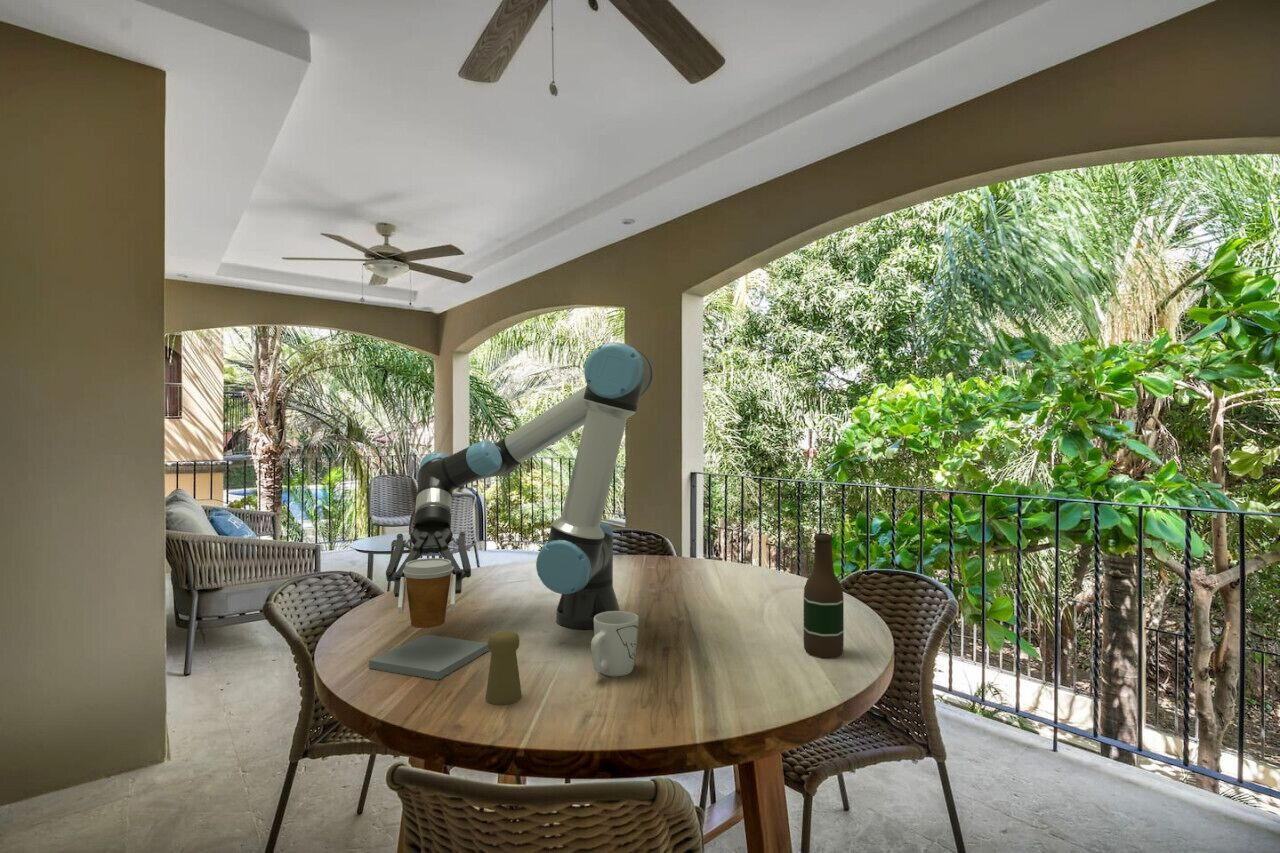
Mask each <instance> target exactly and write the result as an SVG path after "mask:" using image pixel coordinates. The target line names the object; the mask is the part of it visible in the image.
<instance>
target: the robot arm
mask: <svg viewBox="0 0 1280 853" xmlns="http://www.w3.org/2000/svg"><path fill="white" fill-rule="evenodd" d="M583 372H584V373H583V374H584V379H585V382H586V386H584V387H582V388H581V389H579V390H577V391H576V392H574V393H573V394H571V395H569V396H568V397H566V398H565V399H563V400H562V401H560V402H558V403H557V404H555V405H554V406H552V407H550V408H548V409H547V410H546V411H544V412H542V413H541V414H540V415H538V416H536V417H535V418H533V419H531V420H530V421H528V422H526V423H524V424H523V425H522V426H520V427H519V428H517V429H516V430H514V431H513V432H511V433H509V434H508V435H506V436H505V437H504V438H501V439H499V441H497V442H495V443H493V442H492V441H491V440H488V439H484V440H482V441H479V442H476V443H475V442H474V443H473V444H470V445H469V446H468V447H466V448H463V449H462V450H459V451H458V452H455V453H453V454H451V455H449V454H446V453H444V452H437V453H433V452H432V453H428V454H427V455H425V456H424V457H423V458H422V459H421V461H420V463H419V469H418V472H417V489H416V490H417V491H416V492H417V493H416V499H415V509H414V510H415V512H414V513H415V514H414V520H413V521H414V522H413V530H412V532H411V533H410V534H408V535H406V534H405V535H403V533H398V534H396V545H395V547H394V549H393V553H392V554H391V558H390V559H389V563H388V565H387V568H386V571H385V577H386V581H387V582H394V584H393V595H394V597H395V598H398V602H397V610H398V615H404V609H405V599H406V590H407V586H406V578H405V576H404V573H403V569H404V568H405V564H406V563H407V562H410V561H413V560H418V559H421V557H422V555H425V554H440V555H441V557H442V559H448V560H450V561H451V563H452V566H453V567H454V569H453V570H452V573H451V579H450V583H451V584H450V585H451V586H450V587H451V588H450V612H456V594H457V595H459V594H461V593H462V585H463V583H462V582H463V579H465V578H467V579H468V578H471V577H472V568H471V563H470V560H469V559H470V558H469V555H468V552H467V548H466V532H465V531H460V532H459V533H453V531H452V530H451V529H452V528H451V527H452V509H453V506H452V505H453V491H455V490H457V489H459V488H461V487H464V486H466V485H468V484H471V483H474V482H476V481H477V480H481V479H487V478H488V479H489V478H494V477H503V476H506V475H509V474H511V473H513V472H514V471H515V470H516V469H517V468H518V466H519V465H521V464H522V463H524V462H526V461H528V460H529V459H530V458H532V457H534V456H535V455H537V454H538V453H540V452H542V451H543V450H546V449H547V448H549V447H550V446H552V445H553V444H555V443H557V442H558V441H560V440H561V439H563V438H565V437H566V436H568V435H569V434H572V433H573V432H574V431H576V430H577V429H579V428H581V427H583V428H582V431H581V432H582V433H581V436H580V440H579V444H578V448H577V452H576V455H575V460H574V464H573V469H572V472H571V477H570V480H569V484H568V489H567V491H566V496H565V500H564V503H563V508H562V512H561V516H560V517H559V518H557V519H555V520H553V521H552V523H551V527H550V531H549V534H548V538H547V543H546V544H544V545H543V546H542V548H541V550H540V551H539V552H538V554H537V557H536V560H535V561H536V563H535V568H536V573H537V575H538V578H539V579H540V581H541V583H542V584H543V585H544V586H545V588H547V589H548V590H550V591H552V592H553V593H557V594H560V598H559V601H558V605H557V607H556V612H555V615H556V618H555V619H556V623H557V624H558V625H560V626H562V627H566V628H570V629H576V630H577V629H579V630H594V617H595V616H596V615H597V614H599V613H603V612H608V611H621V608H620V605H619V602H618V598H617V595H616V593H615V589H614V584H613V583H614V578H613V577H614V572H613V570H614V564H613V563H614V561H613V559H614V547H613V546H614V534H613V533H614V532H613V527H612V525H611V524H610V523H606V522H605V523H602V518H603V514H604V510H605V506H606V502H607V499H608V495H609V492H610V487H611V482H612V478H613V475H614V471H615V467H616V464H617V460H618V456H619V452H620V447H621V444H622V441H623V440H622V439H623V437H624V432H625V427H626V423H627V421H628V419H629V418H631V417H632V416H634V415H635V414H636V413H637V411H638V405H639V403H640V402H639V401H640V398H641V397H642V396H644V395H645V394H646V393H647V392H648V390H649V389H650V387H651V385H652V383H653V379H654V369H653V366H652V363H651V361H650V359H648V358H647V356H646V355H645V354H644V353H643V352H641V351H639V350H637V349H635V348H634V347H633V346H631V345H629V344H626V343H620V342H617V341H616V342H614V341H611V342H605V343H603V344H601V345H600V346H598V347H596V348H594V350H592V352H591V353H589V356H588V357H587V359H586V361H585V364H584V370H583ZM452 541H454V545H456V546H458V548H457V549H458V552H459V556H460V557H459V558H460V560H461V565H462V568H460V566H459V564H458V563H457V561H456V559H455V557H454V555H453V553H452V552H451V551H450V549H449V546H448V545H449V544H450V543H451V542H452ZM410 542H411V543H412V544H413V546H412V548H411V551H410V552H409V554H408V555H407V556H406V558H405V559H404V561H403V562H402V563H401V565H400V567H399V564H400V562H401V559H402V557H403V555H404V551H405V548H406V547H407V546H408V544H409V543H410ZM398 567H399V568H398Z"/></svg>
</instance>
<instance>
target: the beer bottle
mask: <svg viewBox="0 0 1280 853" xmlns="http://www.w3.org/2000/svg"><path fill="white" fill-rule="evenodd" d="M813 540H814V555H813V567H812V573H811V574H810V576H809V577H808V579H807V580H806V582H805V586H804V588H803V589H804V590H803V648H804V650H806V651H805V652H806V653H807V654H808V656H811V657H815V658H818V659H837V658H838V657H840V656H842V655H843V654H844V642H845V640H844V638H845V637H844V636H845V635H844V626H845V624H844V623H845V622H844V621H845V620H844V618H845V617H844V616H845V615H844V611H845V610H844V609H845V608H844V593H843V592H844V590H843V588H842V584H841V582H840V581H839V579H838V578H837V576H836V575H835V569H834V560H833V559H834V558H833V546H832V545H833V544H832V541H834V537H833V535H832V534H829V533H827V532H826V533H825V532H818V533H815V534H814V536H813Z"/></svg>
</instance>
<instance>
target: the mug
mask: <svg viewBox="0 0 1280 853" xmlns="http://www.w3.org/2000/svg"><path fill="white" fill-rule="evenodd" d="M639 619H640V618H639V615H637V614H636V613H634V612H631V611H626V610H625V611H624V610H620V611H608V612H603V613H599V614H597V615H596V616H595V617H594V629H593V631H594V634H593V635H594V636H593V637H592V639H591V641H590V650H591V651H590V652H591V659H592V666H593V669H594V670H595V671H596V672H599V673H601V674H602V675H604V676H608V677H612V678H613V677H615V678H616V677H617V678H618V677H625V676H627V675H630V674H631V673H632V671H633V669H634V666H635V659H636V654H637V648H638V636H639V622H640V620H639Z"/></svg>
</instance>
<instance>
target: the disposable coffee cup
mask: <svg viewBox="0 0 1280 853" xmlns="http://www.w3.org/2000/svg"><path fill="white" fill-rule="evenodd" d="M453 569H454V567H453V566H452V563H451V561H450V560H448V559H444V558H443V557H442V558H441V557H439V558H437V557H434V558H433V557H431V558H418V559H417V560H413V561H410V562H407V563H406V564H405V568H404V569H403V573H404V576H405V581H406V591H407V592H406V593H407V601H408V608H409V617H410V626H411V627H413V628H417V629H432V628H436V627H440V626H442V625H444V624H445V622H446V615H447V614H446V613H447V609H448V608H447V606H448V601H449V600H448V598H449V593H450V592H449V591H450V585H451V584H450V583H451V579H452V574H453V573H452V570H453Z"/></svg>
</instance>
